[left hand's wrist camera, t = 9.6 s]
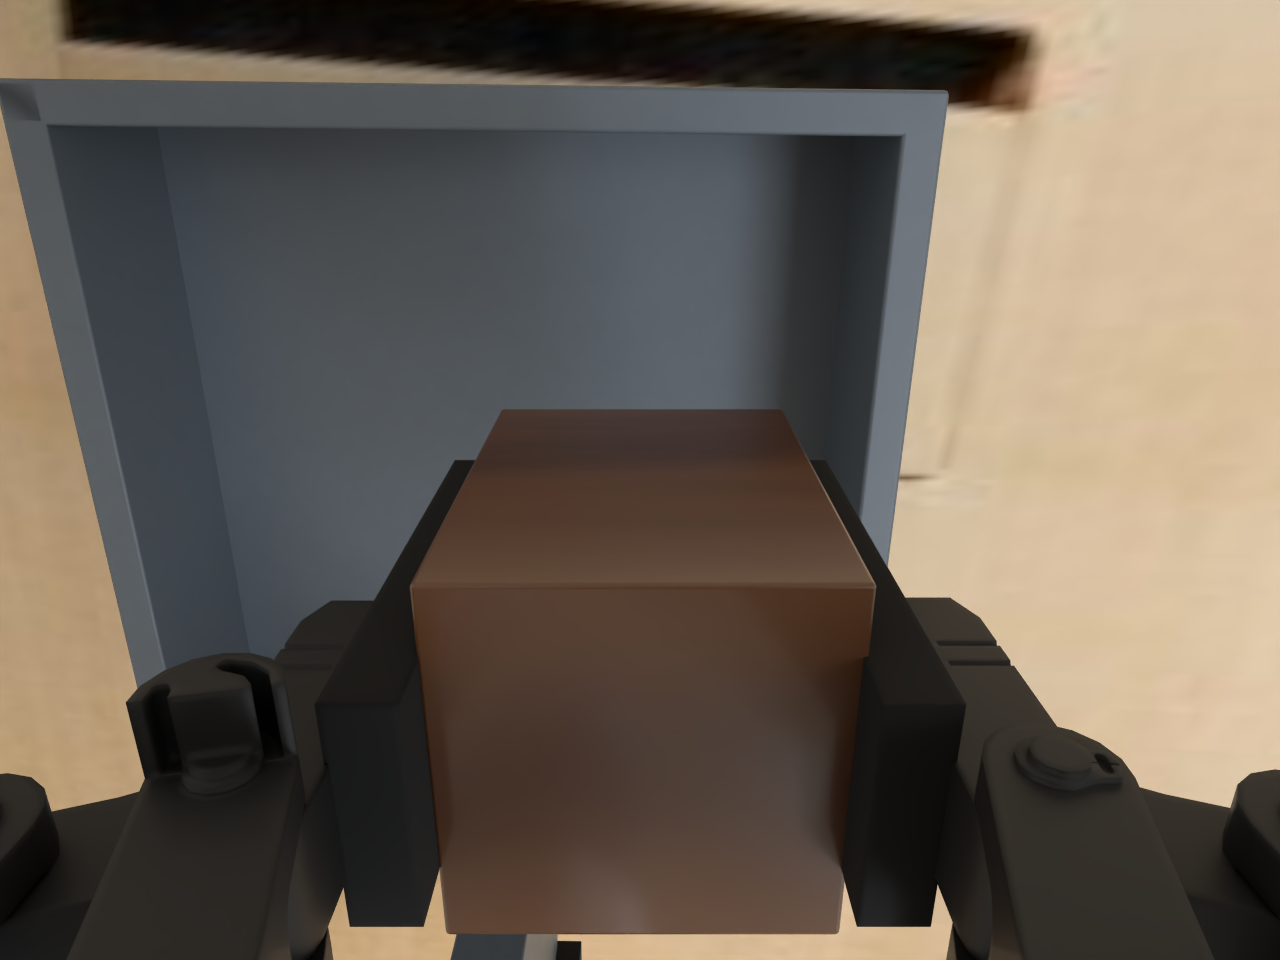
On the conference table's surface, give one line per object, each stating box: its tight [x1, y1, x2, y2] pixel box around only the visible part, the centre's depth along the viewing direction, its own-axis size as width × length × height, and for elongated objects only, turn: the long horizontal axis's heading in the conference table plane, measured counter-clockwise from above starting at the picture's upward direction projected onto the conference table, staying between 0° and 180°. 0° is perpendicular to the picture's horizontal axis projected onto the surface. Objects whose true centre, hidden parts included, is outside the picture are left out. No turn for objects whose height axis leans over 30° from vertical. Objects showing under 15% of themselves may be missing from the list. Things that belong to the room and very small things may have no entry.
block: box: [410, 409, 876, 934], centre depth 12 cm, size 4×4×6 cm
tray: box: [0, 78, 948, 960], centre depth 21 cm, size 31×18×10 cm, turn 179°
